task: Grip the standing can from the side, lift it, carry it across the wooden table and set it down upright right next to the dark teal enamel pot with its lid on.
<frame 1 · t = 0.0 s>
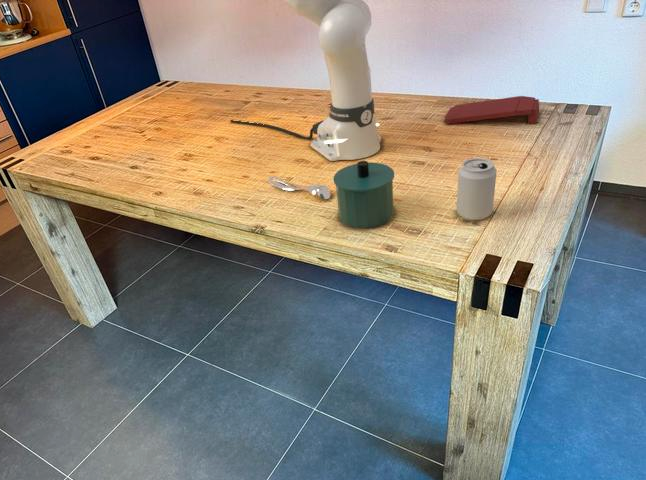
pot: (366, 214, 118), on the table
dark red sloped ramp: (490, 118, 152), on the table
can: (474, 214, 111), on the table
pot lid: (363, 177, 113), point 9 cm above the table, touching pot
silver spoon: (298, 191, 133), on the table
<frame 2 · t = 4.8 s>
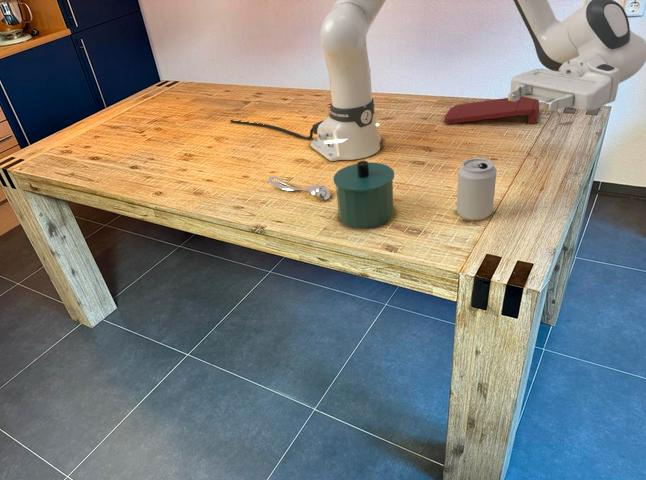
hand: (528, 102, 103), 21 cm above the table, tool horizontal, fingers open, 8 cm apart
nothing on the table moved.
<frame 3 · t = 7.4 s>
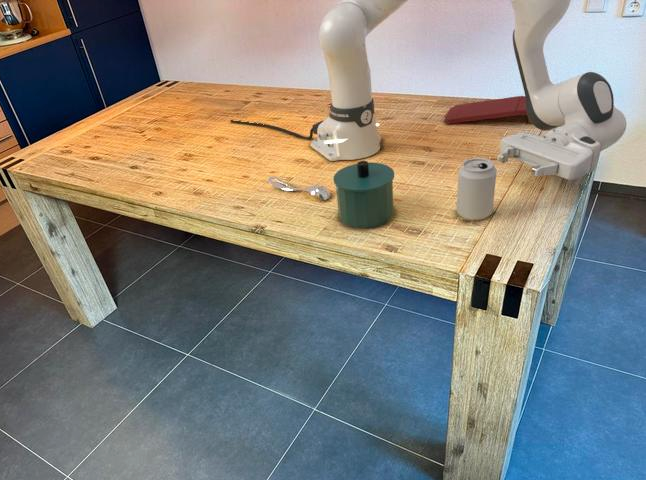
hand: (516, 165, 110), 8 cm above the table, tool horizontal, fingers open, 8 cm apart
nothing on the table moved.
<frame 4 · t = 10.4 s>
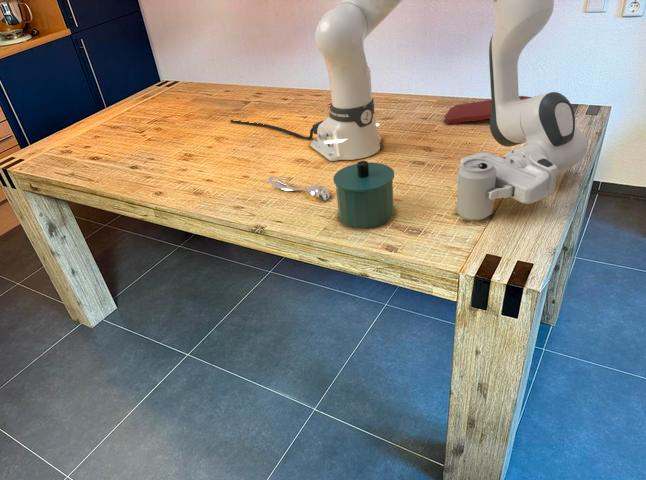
hand: (473, 188, 107), 7 cm above the table, tool horizontal, fingers closed on can, 7 cm apart
can: (474, 214, 111), on the table, touching gripper
everything else where it was.
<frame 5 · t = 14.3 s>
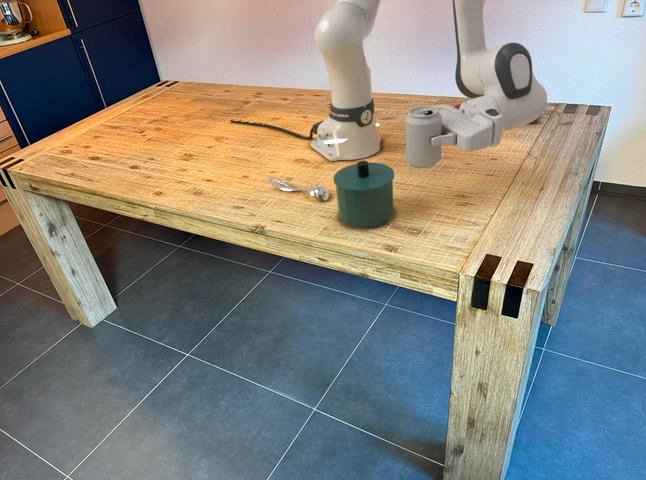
hand: (419, 135, 109), 17 cm above the table, tool horizontal, fingers closed on can, 7 cm apart
can: (423, 163, 113), point 10 cm above the table, touching gripper
everything else where it was.
when the fingers open (7 cm above the table, at t = 18.4 s): can stays where it is, on the table.
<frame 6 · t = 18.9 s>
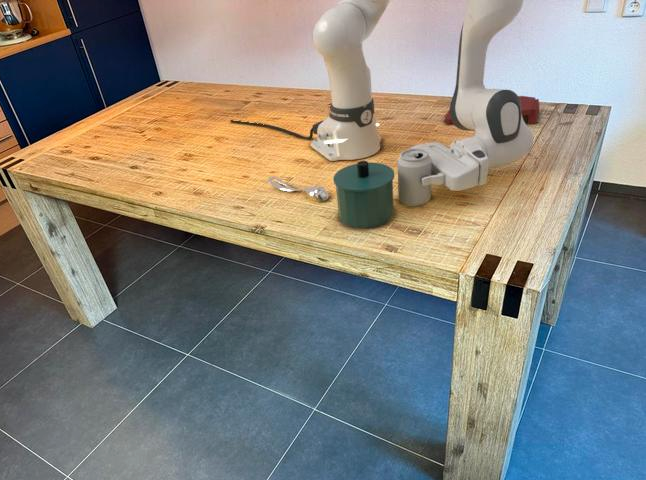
hand: (411, 173, 116), 7 cm above the table, tool horizontal, fingers open, 8 cm apart
can: (414, 200, 120), on the table
everything else where it was.
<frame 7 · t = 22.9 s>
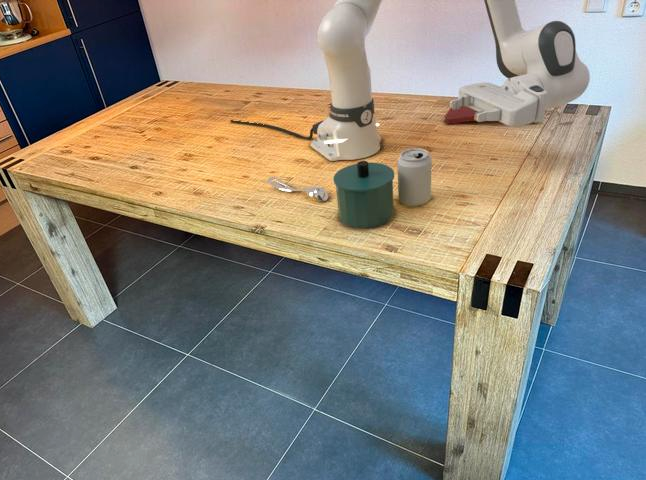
hand: (463, 111, 111), 18 cm above the table, tool horizontal, fingers open, 8 cm apart
nothing on the table moved.
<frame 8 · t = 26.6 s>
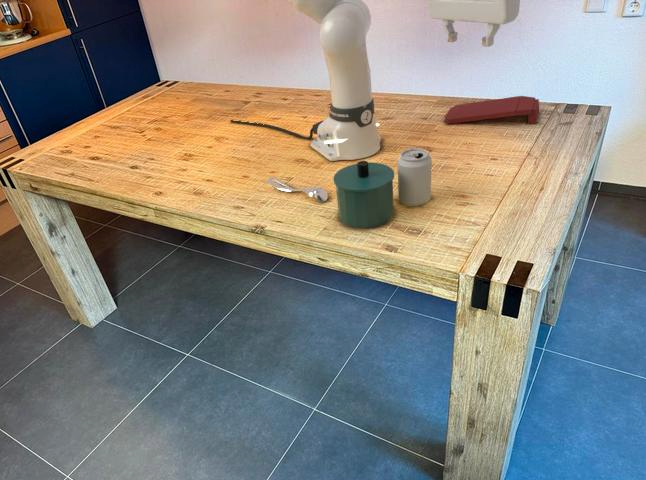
hand: (469, 43, 108), 31 cm above the table, tool pointing down, fingers open, 8 cm apart
nothing on the table moved.
at the end: can 12.4 cm from the pot (horizontally); can tilted 0°; the gripper is holding nothing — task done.
